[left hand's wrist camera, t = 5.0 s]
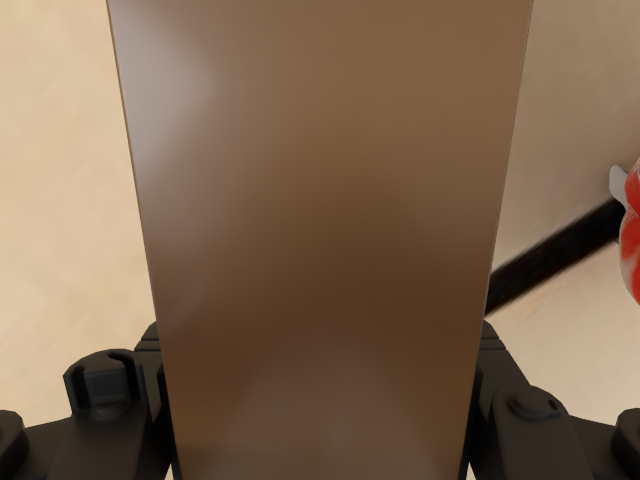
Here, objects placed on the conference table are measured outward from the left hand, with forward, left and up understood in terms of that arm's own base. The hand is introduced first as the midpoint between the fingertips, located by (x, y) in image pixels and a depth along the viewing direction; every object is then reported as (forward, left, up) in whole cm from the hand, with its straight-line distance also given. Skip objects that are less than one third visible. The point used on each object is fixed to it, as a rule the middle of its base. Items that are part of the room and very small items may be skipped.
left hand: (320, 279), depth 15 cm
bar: (+9, 0, -1) cm, 9 cm away
